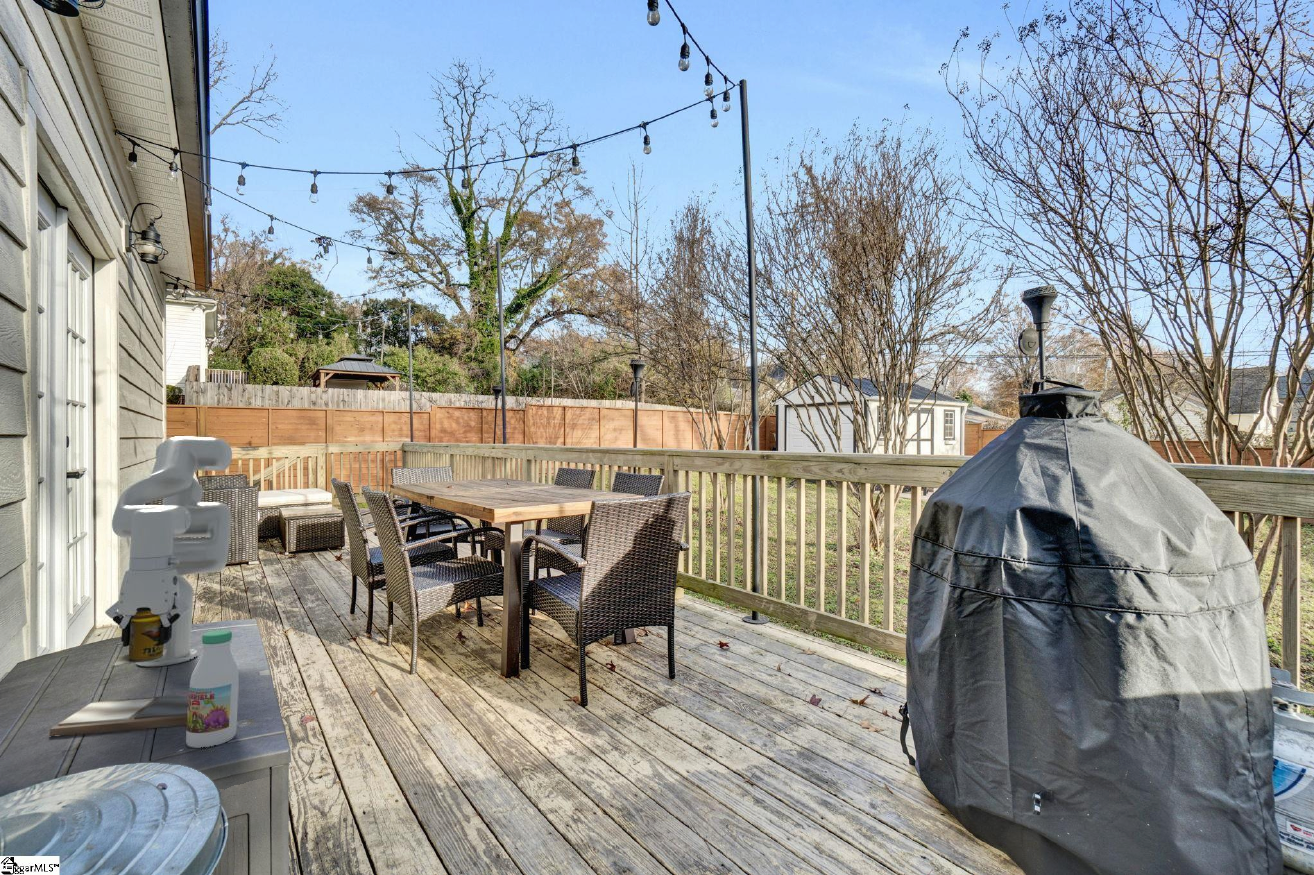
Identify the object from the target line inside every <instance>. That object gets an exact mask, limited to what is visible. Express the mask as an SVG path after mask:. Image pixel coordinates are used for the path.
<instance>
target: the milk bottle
mask: <svg viewBox="0 0 1314 875" xmlns="http://www.w3.org/2000/svg"><path fill="white" fill-rule="evenodd" d="M232 637H233V632H232V630H229V629H215V630H211V631H207V632H205V633H203V634H202V638H201V642H202V644H201V646H202V647H203V648H202V653H201V656H200V658H199V660H198V661H197V664H196V665H195V667H194V669H193V671H192V673H191V676H190V681H189V689H188V695H189V699H188V714H187V725H186V729H185V730H186V734H185V735H186V736H185V743H186V745H187V747H189V748H194V749H202V748H203V747H205V748H210V746H211V747H215V746H214V745H216V746H219V745H222V744H225V743H226V742H229V741H231V740H232V739H233V738H234V737H235V736H236V734H237V726H238V725H237V724H238V705H239V689H240V687H239V685H240V683H239V682H240V680H239V679H240V678H239V677H240V674H239V667H238V665H237V662H236V660H235V658H234V657H233V655H232V651H231V643H232V639H233V638H232ZM201 747H202V748H201Z"/></svg>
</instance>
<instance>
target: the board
mask: <svg viewBox="0 0 1314 875" xmlns="http://www.w3.org/2000/svg"><path fill="white" fill-rule="evenodd" d="M188 699H189V694H181V695H169V696H168V695H167V696H154V697H143V698H129V699H127V698H126V699H117V700H116V699H115V700H103V701H101V700H100V701H91V702H90V703H88V704H87V705H85V706H84V707H82V708H80V709H79V710H77V711H75V712H74V713H73V714H71V715H69V716H68V717H66V718H65V719H63V720H61V721H60V722H59V723H57V724H56V725H54V726H52V727H51V728H50V729H49V736H55V735H67V736H76V735H75V734H80V735H89V734H90V735H91V734H100V733H111V732H112V733H113V732H123V731H124V732H125V731H132V730H133V731H135V730H146V729H157V728H167V727H181V726H187V714H188ZM67 736H66V737H67Z"/></svg>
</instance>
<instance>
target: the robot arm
mask: <svg viewBox="0 0 1314 875" xmlns="http://www.w3.org/2000/svg"><path fill="white" fill-rule="evenodd" d="M232 459H233V451H232V448H231V446H230V444H229V443H228V442H227V441H225V439H221V438H218V437H206V436H205V437H203V436H174V437H169V438H167V439H165V440H164V441H163V442H161V443H160V444H158V445H157V447H156V449H155V462H154V465H153V468H152V471H151V474H149V475H148V476H144V477H143V478H141V479H139V480H137V481H136V482H134V483H133V484H131V485H130V486H128V487H127V488H126V489H125V490H124V491H123V492H121V495H120V496H119V499H118V500H117V503H116V506H115V509H114V513H113V516H112V520H111V528H112V530H113V531H112V532H114V534H115V535H117V536H118V537H121V538H124V539H126V538H128V539H129V538H130V547H129V563H128V569H127V570H125V572H124V575H123V579H122V582H121V586H120V589H119V590H120V591H119V595H118V600H117V601H116V602H114V603H113V604H112V605H111V606H110V607H109V608H107V609H106V610H105V612H104V613H105V615H106V616H108V617H109V618H111V619H112V621H113V622H114V623H116V624H117V625H118V627H119V628H120V629H121V642H122V647H125V648H127V647H129V642H130V623H131V619H132V617H133V616H134V615H135V614H136V612H137V611H136V609H137V608H141V607H148V608H150V609H151V613H152V614H154V615H159V616H160V619H161V621H162V623H163V627H161V628H160V640H159V644H160V645H164V646H163V650H167V651H166V653H165V656H164V658H163V659H162V660H157V661H149V662H141V663H135V664H136V665H137V666H141V667H164V666H171V665H176V664H177V665H178V664H181V663H185V662H188V661H191V660H192V659H194V657H195V658H196V657H197V655H198V650H197V649H193V648H191V643H192V640H193V637H192V624H193V623H192V622H193V607H194V606H193V605H194V604H193V603H194V587H192V585H191V583H190V582H189V581H188V580H187V579H186V578H185V577H184V576H185V575H195V574H196V575H197V574H198V575H199V574H214V573H218V572H221V571H223V570H224V568H225V567H226V565H227V563H228V557H229V547H230V536H231V529H232V528H231V527H232V513H231V512H232V511H231V509H230V507H229V506H228V505H227V504H225V503H223V502H213V501H212V502H210V501H209V502H207V501H206V502H205V501H202V498H203V492H204V490H203V487H202V485H201V484H200V483H199V481H198V480H196V478H194V476H195V471H205V472H206V471H207V472H209V471H210V472H211V471H212V472H219V471H225V470H227V469H228V468H229V467H230V465H231V462H232ZM159 500H163V501H162V504H160V505H159V504H148V503H151V502H154V501H155V502H156V501H159ZM190 659H191V660H190Z"/></svg>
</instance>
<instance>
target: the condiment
mask: <svg viewBox="0 0 1314 875" xmlns="http://www.w3.org/2000/svg"><path fill="white" fill-rule="evenodd" d="M136 611H137V612H136V614H135V615H134V616H133V617H132V619H131V623H130V642H129V645H128V653H123V654H119V655H118V657H117V658H116V660H115V662H114V664H113V666H114V667H115V666H119V665H126V664H127V665H128V664H129V665H130V664H136V663H141V662H149V661H157V660H162V659H163V658H164V656H165V653H166V651H167V650H163V646H164V645H160V644H159V640H160V628H161V627H163V623H162V621H161V619H160V616H159V615H154V614H152V613H151V609H150V608H148V607H141V608H137V609H136Z"/></svg>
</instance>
